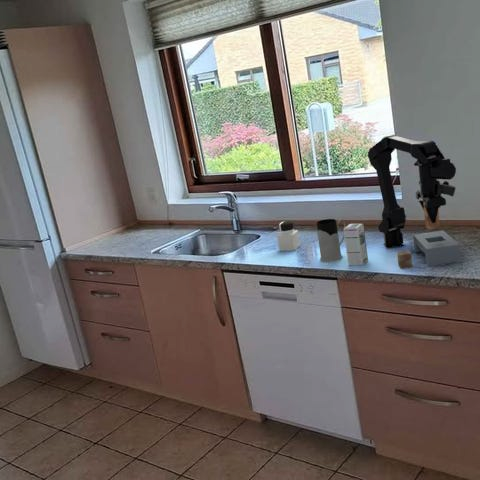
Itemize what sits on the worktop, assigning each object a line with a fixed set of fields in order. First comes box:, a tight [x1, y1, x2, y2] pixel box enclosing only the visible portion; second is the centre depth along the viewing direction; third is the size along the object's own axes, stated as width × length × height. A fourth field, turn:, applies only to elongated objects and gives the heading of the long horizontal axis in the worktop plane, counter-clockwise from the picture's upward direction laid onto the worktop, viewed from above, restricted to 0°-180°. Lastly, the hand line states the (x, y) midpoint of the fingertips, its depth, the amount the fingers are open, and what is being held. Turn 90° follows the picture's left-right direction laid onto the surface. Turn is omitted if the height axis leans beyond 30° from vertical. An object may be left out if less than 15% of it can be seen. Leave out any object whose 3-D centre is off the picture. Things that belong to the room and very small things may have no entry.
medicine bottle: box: [276, 220, 301, 252], centre depth 243 cm, size 7×7×12 cm
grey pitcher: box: [316, 218, 347, 263], centre depth 220 cm, size 9×14×15 cm, turn 126°
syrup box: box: [343, 222, 369, 266], centre depth 208 cm, size 6×6×14 cm
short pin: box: [396, 249, 413, 270], centre depth 197 cm, size 4×4×5 cm
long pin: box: [423, 202, 441, 230], centre depth 199 cm, size 4×4×9 cm
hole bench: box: [412, 230, 462, 267], centre depth 202 cm, size 11×20×6 cm, turn 176°
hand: (432, 221), depth 200 cm, fingers closed on long pin, 4 cm apart
